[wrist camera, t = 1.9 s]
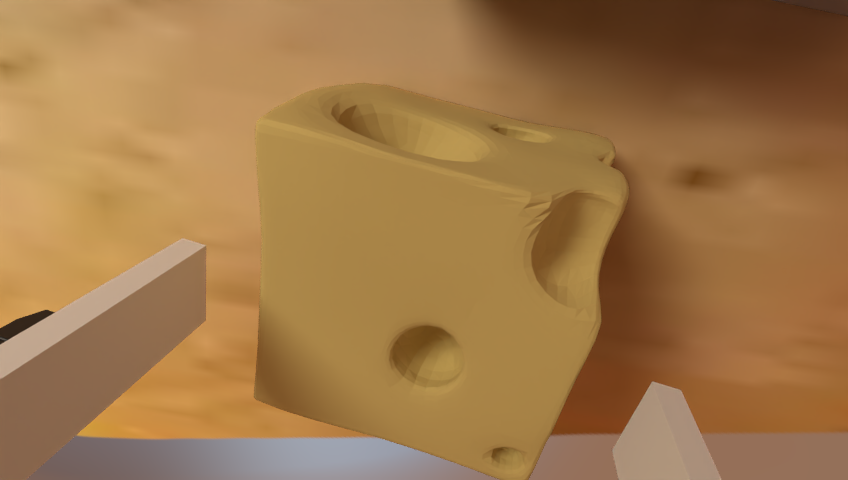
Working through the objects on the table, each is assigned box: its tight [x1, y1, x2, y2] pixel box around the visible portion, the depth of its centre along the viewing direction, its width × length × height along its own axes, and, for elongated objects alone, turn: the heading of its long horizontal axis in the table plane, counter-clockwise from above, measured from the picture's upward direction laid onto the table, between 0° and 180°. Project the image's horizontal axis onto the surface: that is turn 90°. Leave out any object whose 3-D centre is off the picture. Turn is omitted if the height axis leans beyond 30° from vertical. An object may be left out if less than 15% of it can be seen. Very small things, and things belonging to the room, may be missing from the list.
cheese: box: [254, 83, 629, 480], centre depth 17 cm, size 10×11×10 cm
